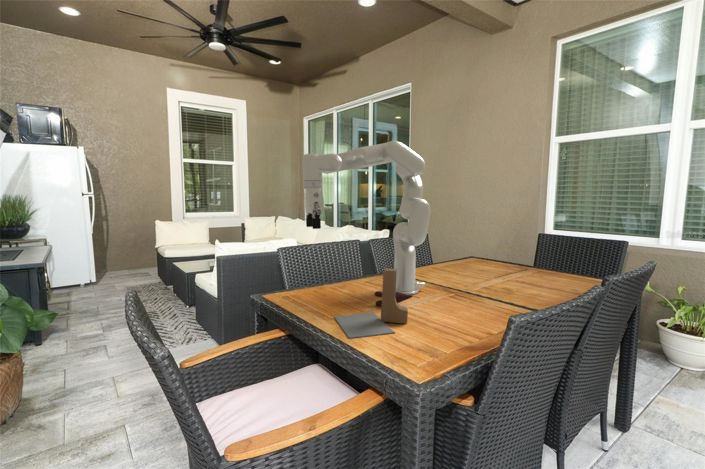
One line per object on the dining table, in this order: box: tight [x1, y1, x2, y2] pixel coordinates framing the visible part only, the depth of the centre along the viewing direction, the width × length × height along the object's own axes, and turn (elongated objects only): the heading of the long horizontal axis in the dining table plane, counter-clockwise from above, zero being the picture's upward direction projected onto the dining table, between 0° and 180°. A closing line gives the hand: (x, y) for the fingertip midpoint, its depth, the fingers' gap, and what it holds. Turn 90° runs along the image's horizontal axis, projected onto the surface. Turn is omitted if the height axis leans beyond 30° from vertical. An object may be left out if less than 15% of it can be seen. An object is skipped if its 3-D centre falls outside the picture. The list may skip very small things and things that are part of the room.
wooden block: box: [380, 267, 409, 324], centre depth 123 cm, size 9×4×18 cm, turn 83°
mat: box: [333, 311, 396, 339], centre depth 120 cm, size 15×20×1 cm
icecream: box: [373, 290, 413, 307], centre depth 141 cm, size 7×7×15 cm
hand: (313, 227), depth 145 cm, fingers open, 9 cm apart
